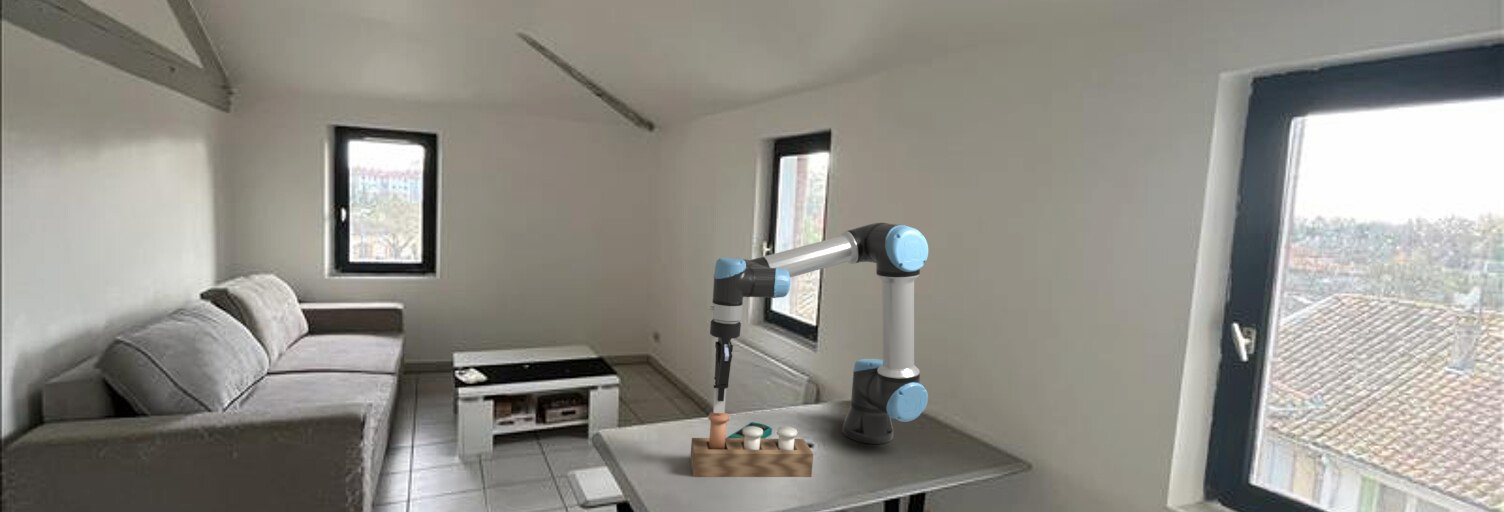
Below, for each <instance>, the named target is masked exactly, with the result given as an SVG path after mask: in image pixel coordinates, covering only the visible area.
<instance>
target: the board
mask: <svg viewBox="0 0 1504 512" xmlns="http://www.w3.org/2000/svg"><path fill="white" fill-rule="evenodd" d="M709 439H710V437H691V443H690V444H691V445H690V456H689V457H690V458H689V460H690V466H691V471H692V476H693V478H694V477H695V478H696V477H697V478H701V477H702V478H703V477H704V478H705V477H706V478H716V477H717V478H719V477H720V478H724V477H725V478H727V477H728V478H732V477H733V478H737V477H738V478H739V477H740V478H745V477H747V478H756V477H757V478H758V477H759V478H763V477H765V478H773V477H774V478H775V477H776V478H777V477H778V478H780V477H781V478H782V477H783V478H785V477H787V478H788V477H790V478H793V477H794V478H798V477H799V478H803V477H804V478H809V477H810V478H811V477H812V475H813V474H812V473H813V464H814V463H813V462H814V453H813V451H812V450H811V448H810V446H809V444H808V443H807V442H806V440H805V439H804V438H794V450H778V443H779V438H765V439H762V438H760V447H759V450H744V439H745V438H728V437H725V450H719V449H709Z"/></svg>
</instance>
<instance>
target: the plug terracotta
mask: <svg viewBox="0 0 1504 512" xmlns="http://www.w3.org/2000/svg"><path fill="white" fill-rule="evenodd" d="M708 420H709V421H710V427H709V438H710V439H709V449H719V450H725V438H726V435H727V422H729V421H730V414H729V413H727V412H725V413H714V412H713V411H711V412H710V413H709V414H708Z"/></svg>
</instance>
